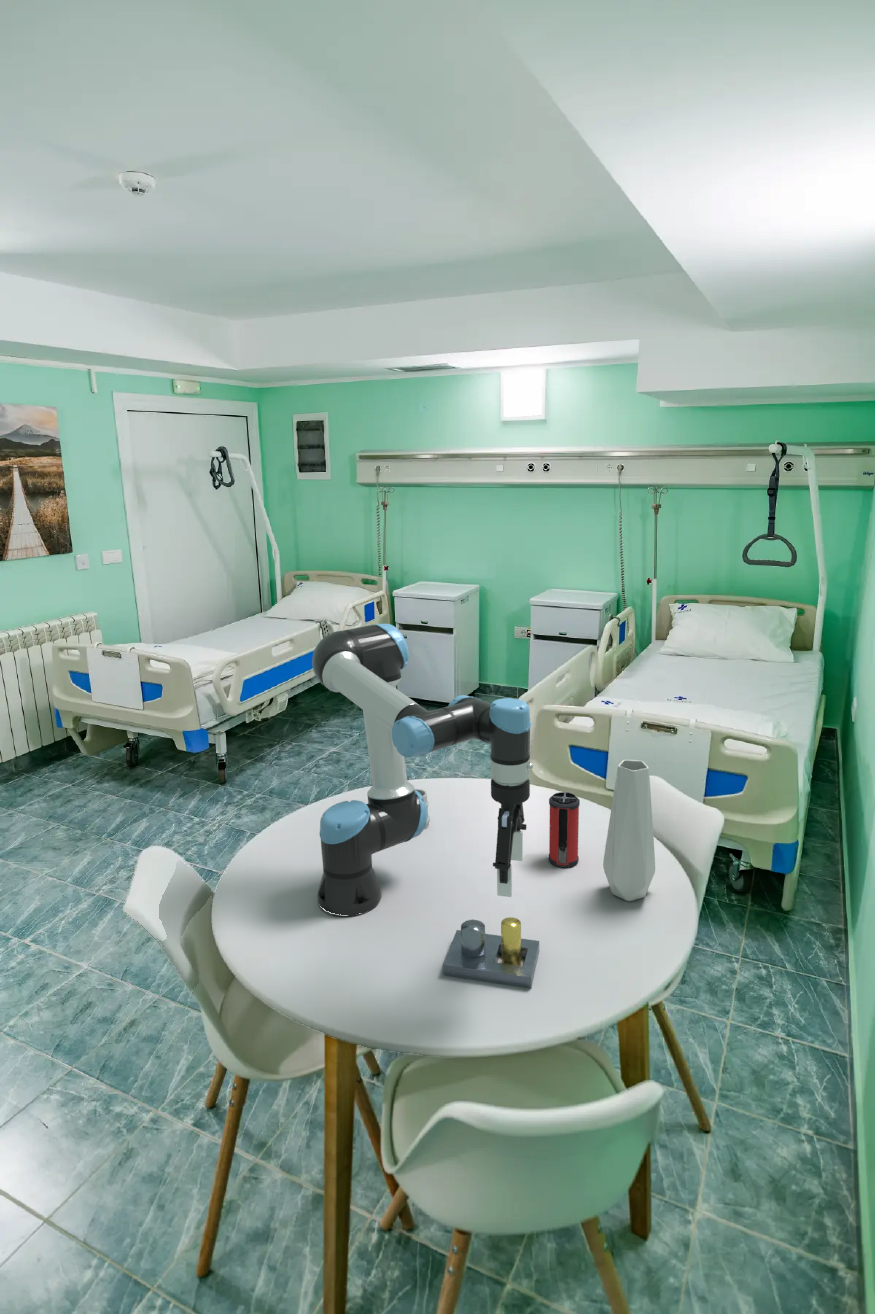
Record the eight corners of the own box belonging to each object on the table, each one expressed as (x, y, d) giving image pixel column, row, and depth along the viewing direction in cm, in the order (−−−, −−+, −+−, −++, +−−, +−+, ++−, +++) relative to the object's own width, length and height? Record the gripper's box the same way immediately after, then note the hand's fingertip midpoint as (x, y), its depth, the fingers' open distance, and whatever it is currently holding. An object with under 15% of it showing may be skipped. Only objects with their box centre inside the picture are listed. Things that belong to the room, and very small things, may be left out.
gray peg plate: (443, 975, 154) (442, 941, 152) (457, 939, 165) (456, 907, 163) (531, 988, 149) (531, 953, 147) (539, 951, 160) (539, 918, 158)
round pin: (500, 970, 155) (499, 927, 152) (503, 958, 159) (503, 916, 156) (519, 973, 154) (519, 930, 151) (522, 960, 158) (522, 918, 155)
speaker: (547, 866, 193) (547, 802, 189) (550, 852, 201) (550, 789, 196) (577, 869, 192) (578, 804, 187) (579, 854, 199) (580, 791, 194)
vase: (610, 874, 189) (614, 751, 181) (657, 886, 183) (663, 759, 175) (594, 898, 179) (597, 769, 171) (642, 911, 173) (648, 778, 165)
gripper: (519, 808, 133) (519, 914, 138) (538, 755, 156) (537, 848, 162) (477, 805, 135) (479, 909, 140) (502, 753, 158) (503, 844, 164)
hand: (510, 876), depth 151 cm, fingers open, 13 cm apart
